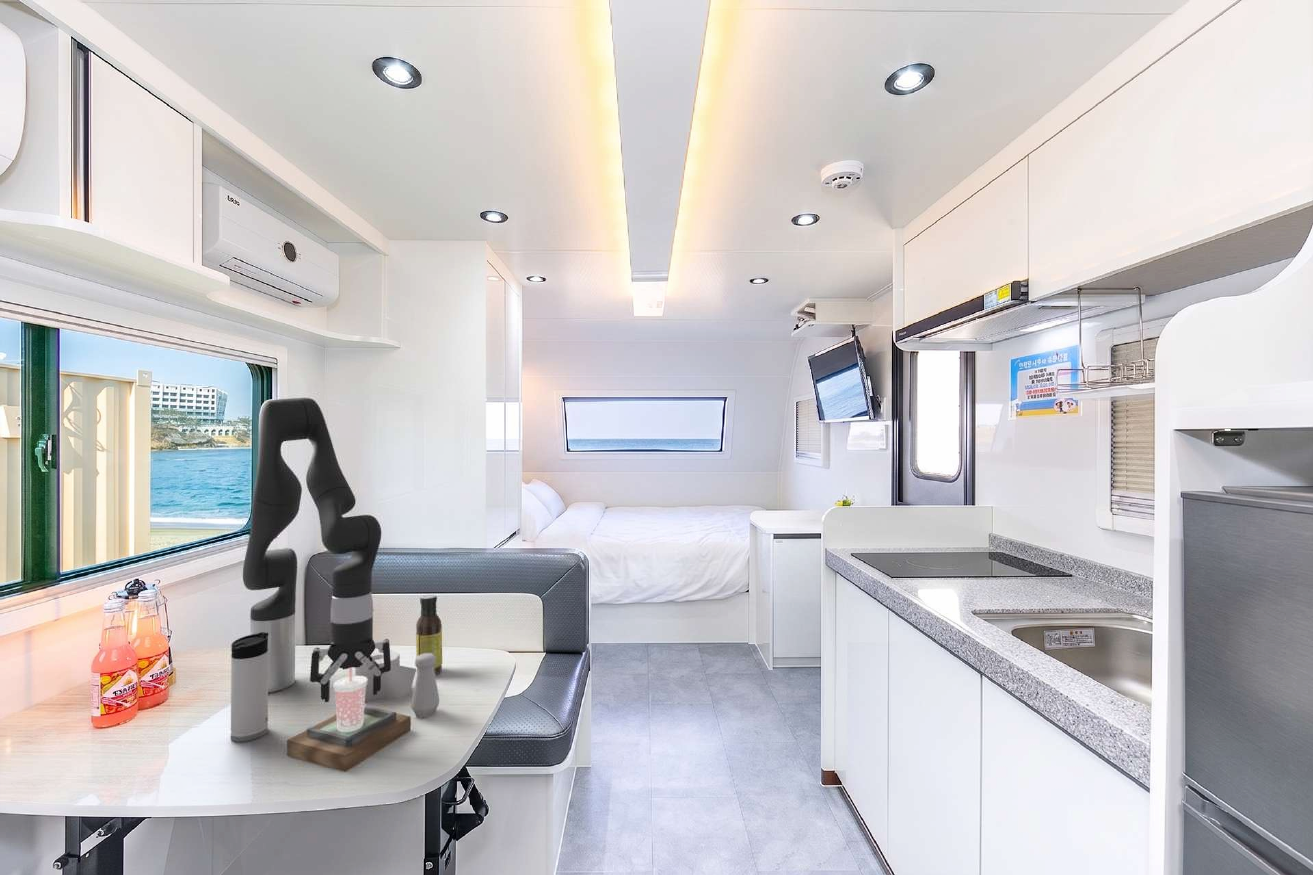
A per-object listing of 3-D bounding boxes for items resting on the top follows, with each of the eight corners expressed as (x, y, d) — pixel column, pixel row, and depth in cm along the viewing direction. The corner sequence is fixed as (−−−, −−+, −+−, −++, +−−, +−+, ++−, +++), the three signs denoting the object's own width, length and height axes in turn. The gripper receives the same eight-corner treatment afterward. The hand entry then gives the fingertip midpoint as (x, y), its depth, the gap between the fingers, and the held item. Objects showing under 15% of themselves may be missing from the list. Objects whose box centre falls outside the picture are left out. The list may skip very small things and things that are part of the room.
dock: (287, 755, 112) (287, 732, 112) (356, 718, 127) (356, 697, 127) (345, 771, 107) (345, 747, 107) (410, 730, 122) (410, 709, 122)
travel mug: (276, 729, 122) (276, 633, 122) (245, 745, 116) (245, 644, 116) (255, 724, 125) (255, 630, 124) (223, 739, 118) (223, 640, 118)
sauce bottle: (447, 671, 153) (447, 595, 153) (427, 680, 147) (428, 601, 147) (430, 666, 156) (430, 591, 156) (410, 675, 151) (410, 597, 150)
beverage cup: (349, 736, 113) (349, 664, 113) (325, 731, 115) (325, 660, 115) (374, 722, 119) (374, 653, 119) (351, 717, 121) (351, 649, 121)
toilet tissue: (417, 694, 140) (417, 658, 140) (354, 705, 134) (355, 667, 134) (414, 679, 148) (415, 645, 148) (355, 689, 142) (355, 654, 142)
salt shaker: (429, 721, 126) (429, 661, 126) (405, 718, 127) (405, 659, 127) (444, 709, 132) (444, 651, 132) (421, 706, 133) (421, 649, 133)
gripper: (308, 626, 111) (308, 711, 111) (391, 617, 117) (390, 698, 117) (313, 615, 118) (312, 695, 118) (391, 607, 124) (390, 683, 124)
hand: (351, 697), depth 117 cm, fingers open, 8 cm apart
